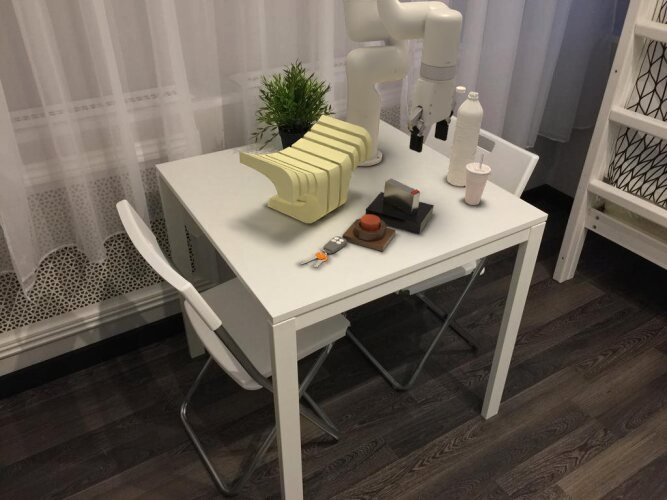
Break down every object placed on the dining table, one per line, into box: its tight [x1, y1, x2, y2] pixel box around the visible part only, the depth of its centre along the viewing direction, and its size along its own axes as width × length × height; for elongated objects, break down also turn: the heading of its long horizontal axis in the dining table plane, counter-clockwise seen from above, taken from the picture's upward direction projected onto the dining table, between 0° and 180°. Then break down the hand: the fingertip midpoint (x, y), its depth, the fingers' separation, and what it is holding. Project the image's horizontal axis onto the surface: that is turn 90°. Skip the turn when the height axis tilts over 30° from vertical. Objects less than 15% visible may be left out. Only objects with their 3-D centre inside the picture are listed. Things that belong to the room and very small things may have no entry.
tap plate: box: [364, 191, 435, 235], centre depth 144 cm, size 14×10×3 cm
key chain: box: [300, 235, 348, 268], centre depth 130 cm, size 13×4×2 cm, turn 145°
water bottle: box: [446, 86, 484, 187], centre depth 156 cm, size 9×6×25 cm
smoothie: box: [464, 151, 492, 206], centre depth 149 cm, size 6×6×14 cm
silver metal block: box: [383, 178, 421, 215], centre depth 142 cm, size 9×2×6 cm, turn 45°
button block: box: [342, 217, 396, 253], centre depth 136 cm, size 10×8×4 cm
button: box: [360, 214, 380, 231], centre depth 135 cm, size 4×4×2 cm
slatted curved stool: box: [238, 114, 372, 224], centre depth 143 cm, size 30×16×18 cm, turn 142°
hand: (428, 144), depth 136 cm, fingers open, 9 cm apart
